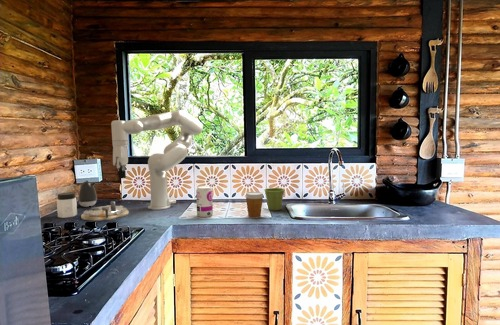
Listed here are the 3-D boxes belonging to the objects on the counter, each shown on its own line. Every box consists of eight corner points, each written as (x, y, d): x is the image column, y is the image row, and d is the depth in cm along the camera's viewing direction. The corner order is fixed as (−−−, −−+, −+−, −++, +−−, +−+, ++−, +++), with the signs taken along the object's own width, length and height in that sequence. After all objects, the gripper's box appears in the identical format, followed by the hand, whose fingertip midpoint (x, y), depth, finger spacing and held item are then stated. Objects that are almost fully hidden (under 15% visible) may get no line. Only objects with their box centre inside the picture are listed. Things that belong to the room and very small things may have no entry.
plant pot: (279, 206, 188) (279, 187, 187) (288, 210, 177) (288, 190, 176) (261, 207, 185) (260, 188, 184) (268, 212, 173) (268, 191, 173)
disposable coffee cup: (252, 213, 172) (252, 191, 171) (267, 215, 167) (267, 192, 166) (241, 216, 164) (241, 193, 163) (256, 219, 159) (256, 195, 158)
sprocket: (134, 210, 174) (134, 198, 174) (100, 219, 157) (99, 206, 156) (110, 206, 185) (109, 195, 184) (75, 214, 167) (74, 202, 166)
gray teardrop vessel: (92, 207, 188) (91, 182, 187) (75, 208, 189) (73, 182, 187) (100, 204, 199) (99, 179, 197) (84, 204, 199) (82, 180, 198)
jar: (58, 218, 164) (56, 195, 163) (57, 215, 170) (56, 193, 170) (77, 216, 169) (76, 193, 168) (76, 213, 175) (75, 191, 174)
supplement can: (215, 214, 170) (215, 186, 169) (207, 218, 162) (206, 188, 161) (202, 213, 173) (202, 185, 172) (193, 216, 166) (193, 187, 165)
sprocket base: (126, 208, 186) (125, 199, 186) (131, 217, 166) (130, 207, 165) (81, 213, 176) (81, 203, 175) (81, 223, 155) (80, 212, 155)
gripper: (118, 143, 177) (120, 176, 179) (107, 144, 163) (109, 180, 164) (132, 143, 178) (133, 176, 179) (122, 144, 163) (124, 180, 165)
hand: (122, 178), depth 172 cm, fingers closed
